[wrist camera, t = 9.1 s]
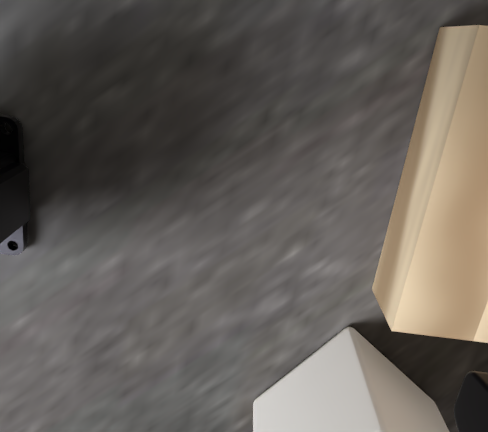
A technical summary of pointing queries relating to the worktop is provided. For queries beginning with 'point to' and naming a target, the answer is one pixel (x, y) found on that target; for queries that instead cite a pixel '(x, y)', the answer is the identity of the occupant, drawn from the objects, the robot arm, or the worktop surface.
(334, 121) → the worktop surface
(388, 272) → the socket block
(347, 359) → the medicine bottle
